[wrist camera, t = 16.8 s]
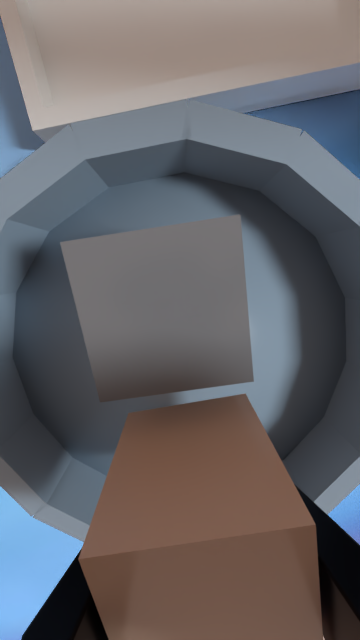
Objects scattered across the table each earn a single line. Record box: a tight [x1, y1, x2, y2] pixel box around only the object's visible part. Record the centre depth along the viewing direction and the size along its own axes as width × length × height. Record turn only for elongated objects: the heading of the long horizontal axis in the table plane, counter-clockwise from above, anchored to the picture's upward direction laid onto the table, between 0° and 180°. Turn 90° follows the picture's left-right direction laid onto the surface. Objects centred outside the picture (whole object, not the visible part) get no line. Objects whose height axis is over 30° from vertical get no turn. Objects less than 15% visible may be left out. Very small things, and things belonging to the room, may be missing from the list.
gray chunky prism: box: [60, 214, 254, 403], centre depth 8 cm, size 4×4×4 cm
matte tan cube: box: [78, 393, 323, 640], centre depth 7 cm, size 4×4×4 cm
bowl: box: [0, 99, 360, 542], centre depth 10 cm, size 18×18×3 cm
